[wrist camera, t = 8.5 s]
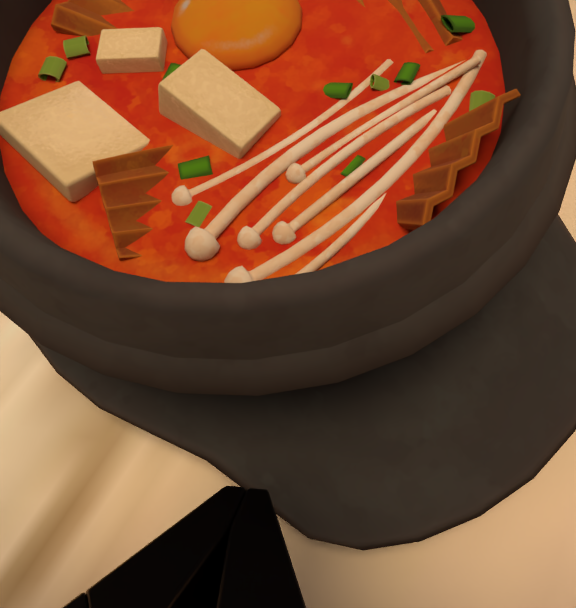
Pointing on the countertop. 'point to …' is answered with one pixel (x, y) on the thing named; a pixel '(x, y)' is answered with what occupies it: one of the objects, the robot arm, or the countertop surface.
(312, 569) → the countertop surface
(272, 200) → the casserole
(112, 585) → the robot arm
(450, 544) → the countertop surface
